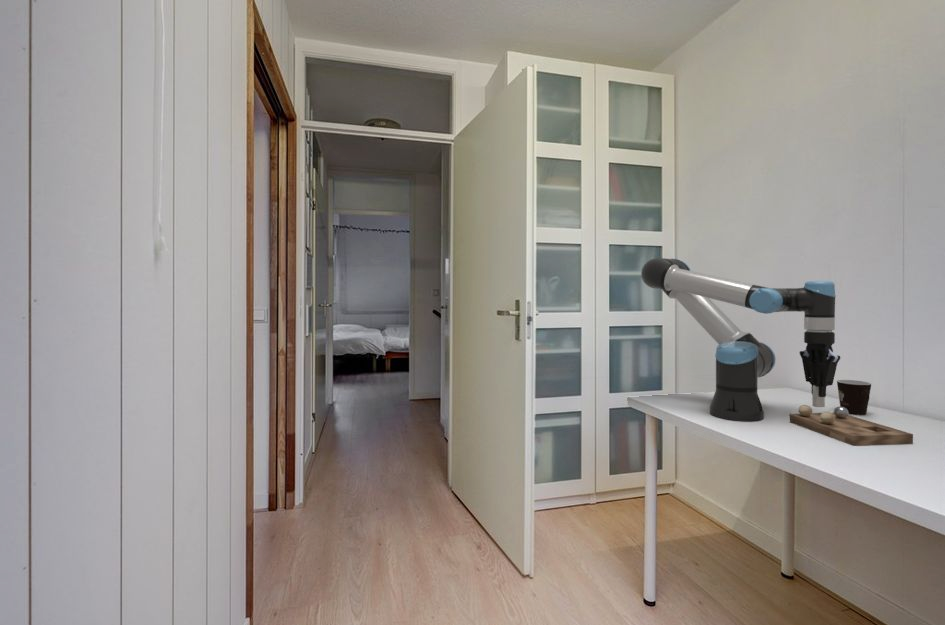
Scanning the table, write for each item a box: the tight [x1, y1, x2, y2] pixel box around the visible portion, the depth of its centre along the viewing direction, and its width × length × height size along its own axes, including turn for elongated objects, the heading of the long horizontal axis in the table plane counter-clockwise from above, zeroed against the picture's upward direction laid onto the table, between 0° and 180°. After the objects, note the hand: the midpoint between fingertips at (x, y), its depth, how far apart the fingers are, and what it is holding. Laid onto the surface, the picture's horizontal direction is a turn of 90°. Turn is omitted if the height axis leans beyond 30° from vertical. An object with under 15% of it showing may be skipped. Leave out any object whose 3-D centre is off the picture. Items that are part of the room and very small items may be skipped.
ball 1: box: [797, 404, 813, 416], centre depth 135 cm, size 3×3×3 cm
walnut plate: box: [789, 412, 914, 446], centre depth 128 cm, size 16×22×2 cm
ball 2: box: [820, 411, 835, 424], centre depth 127 cm, size 3×3×3 cm
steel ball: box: [833, 405, 850, 418], centre depth 133 cm, size 3×3×3 cm
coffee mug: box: [836, 379, 872, 416], centre depth 146 cm, size 12×9×10 cm
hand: (818, 406), depth 141 cm, fingers closed
